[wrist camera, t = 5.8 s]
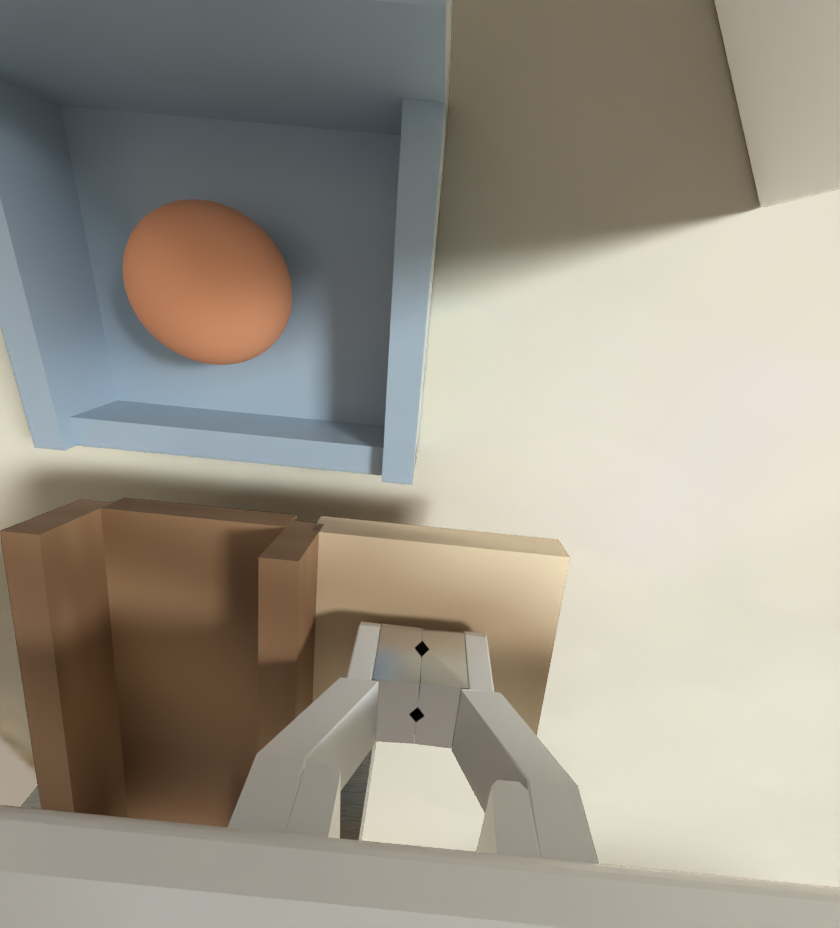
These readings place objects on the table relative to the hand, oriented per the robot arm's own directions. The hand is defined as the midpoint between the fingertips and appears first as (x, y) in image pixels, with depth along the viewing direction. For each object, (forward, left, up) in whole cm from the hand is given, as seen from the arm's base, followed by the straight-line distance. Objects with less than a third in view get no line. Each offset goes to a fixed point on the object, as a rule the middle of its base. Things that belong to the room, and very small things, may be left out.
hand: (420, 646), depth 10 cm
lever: (+3, +7, -1) cm, 8 cm away
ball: (+6, -8, -3) cm, 10 cm away
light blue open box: (+6, -8, -5) cm, 11 cm away
